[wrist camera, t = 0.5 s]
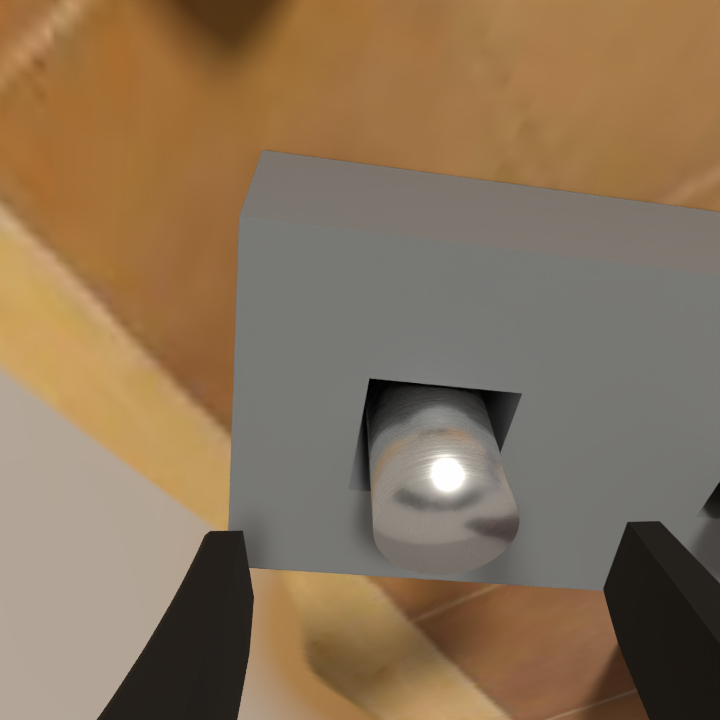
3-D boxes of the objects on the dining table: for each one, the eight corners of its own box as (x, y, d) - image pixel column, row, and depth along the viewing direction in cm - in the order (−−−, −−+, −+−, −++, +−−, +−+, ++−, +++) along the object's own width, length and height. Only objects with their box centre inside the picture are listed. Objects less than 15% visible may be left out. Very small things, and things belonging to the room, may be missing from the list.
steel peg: (494, 364, 18) (538, 483, 14) (466, 453, 20) (497, 578, 16) (375, 352, 17) (386, 470, 14) (358, 443, 19) (363, 570, 16)
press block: (953, 243, 20) (1115, 324, 16) (763, 501, 26) (841, 605, 22) (262, 150, 17) (239, 216, 13) (245, 458, 24) (227, 566, 20)
